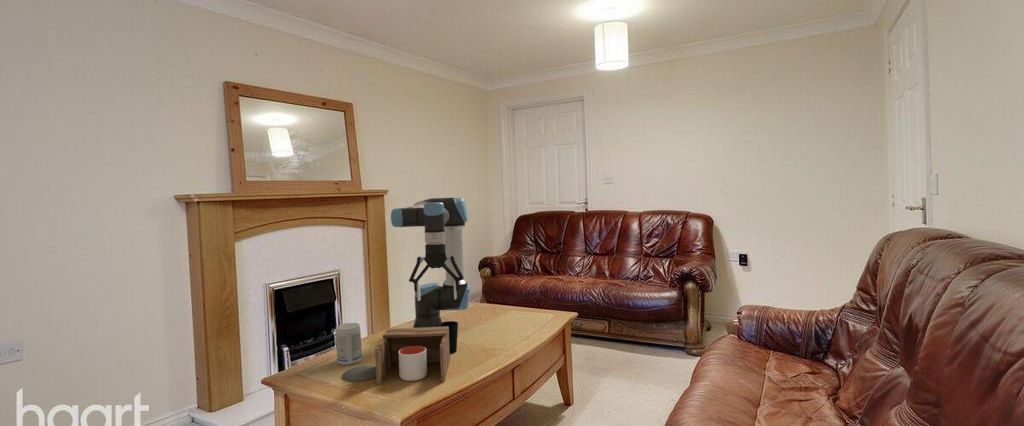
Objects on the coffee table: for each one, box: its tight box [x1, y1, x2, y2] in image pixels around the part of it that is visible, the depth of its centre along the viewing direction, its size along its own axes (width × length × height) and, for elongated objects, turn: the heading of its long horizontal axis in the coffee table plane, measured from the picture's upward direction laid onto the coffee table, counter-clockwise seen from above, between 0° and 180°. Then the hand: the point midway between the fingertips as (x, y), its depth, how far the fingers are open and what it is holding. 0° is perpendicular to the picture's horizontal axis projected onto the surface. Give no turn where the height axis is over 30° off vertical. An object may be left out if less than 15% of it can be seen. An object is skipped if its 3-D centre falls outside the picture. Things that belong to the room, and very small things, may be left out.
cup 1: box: [398, 346, 428, 382], centre depth 179 cm, size 10×10×10 cm
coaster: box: [342, 365, 376, 383], centre depth 184 cm, size 14×14×1 cm
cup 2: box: [440, 320, 459, 354], centre depth 207 cm, size 8×8×12 cm
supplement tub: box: [335, 322, 363, 366], centre depth 198 cm, size 10×10×15 cm
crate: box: [374, 326, 451, 386], centre depth 184 cm, size 22×24×14 cm
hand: (437, 299), depth 185 cm, fingers open, 13 cm apart
